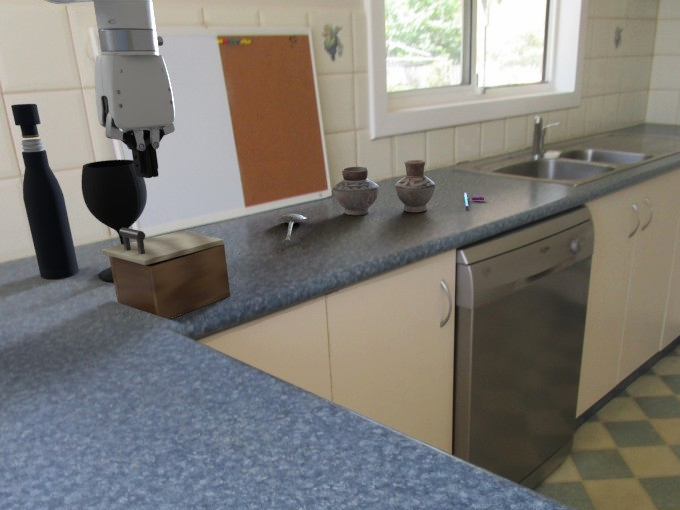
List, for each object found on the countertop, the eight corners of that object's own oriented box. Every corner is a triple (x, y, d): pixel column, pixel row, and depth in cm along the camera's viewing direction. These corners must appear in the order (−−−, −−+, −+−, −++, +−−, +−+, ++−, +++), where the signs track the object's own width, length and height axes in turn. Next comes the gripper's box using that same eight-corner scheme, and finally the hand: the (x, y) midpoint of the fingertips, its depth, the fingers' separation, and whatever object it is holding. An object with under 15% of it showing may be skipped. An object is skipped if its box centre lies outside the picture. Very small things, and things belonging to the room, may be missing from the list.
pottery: (439, 214, 159) (439, 164, 155) (334, 219, 156) (331, 168, 152) (431, 204, 169) (431, 156, 165) (333, 208, 167) (330, 161, 163)
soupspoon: (308, 223, 156) (280, 225, 156) (306, 209, 155) (278, 211, 155) (302, 245, 136) (270, 248, 135) (300, 229, 134) (268, 232, 134)
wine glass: (128, 285, 115) (107, 170, 108) (85, 278, 119) (63, 166, 112) (171, 268, 124) (155, 160, 117) (130, 262, 128) (112, 157, 121)
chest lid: (145, 265, 95) (141, 236, 93) (102, 254, 101) (98, 227, 99) (224, 244, 106) (221, 218, 105) (181, 235, 112) (179, 210, 110)
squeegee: (486, 205, 163) (466, 205, 163) (486, 208, 163) (466, 208, 164) (482, 192, 177) (464, 192, 177) (482, 195, 177) (464, 195, 178)
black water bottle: (53, 281, 118) (15, 106, 107) (33, 275, 121) (-6, 105, 111) (86, 271, 123) (52, 103, 112) (66, 266, 126) (32, 102, 116)
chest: (160, 323, 99) (151, 267, 96) (118, 309, 105) (108, 255, 101) (230, 295, 109) (224, 244, 106) (189, 284, 115) (182, 235, 112)
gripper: (158, 45, 100) (173, 167, 106) (62, 44, 89) (86, 181, 95) (190, 44, 96) (204, 171, 102) (94, 43, 84) (117, 187, 91)
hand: (147, 176), depth 99 cm, fingers closed
